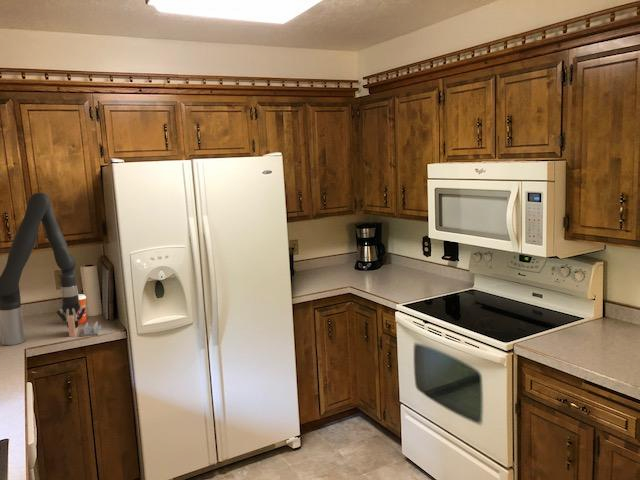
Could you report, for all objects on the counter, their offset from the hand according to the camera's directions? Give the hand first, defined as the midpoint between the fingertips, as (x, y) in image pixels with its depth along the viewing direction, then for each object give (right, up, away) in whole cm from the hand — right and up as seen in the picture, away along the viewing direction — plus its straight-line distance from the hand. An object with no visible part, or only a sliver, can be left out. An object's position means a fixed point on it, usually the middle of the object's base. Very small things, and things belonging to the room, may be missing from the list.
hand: (73, 327), depth 267 cm
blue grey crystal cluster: (+8, -3, +2) cm, 9 cm away
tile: (0, -3, 0) cm, 3 cm away
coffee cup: (-5, -1, +19) cm, 19 cm away
